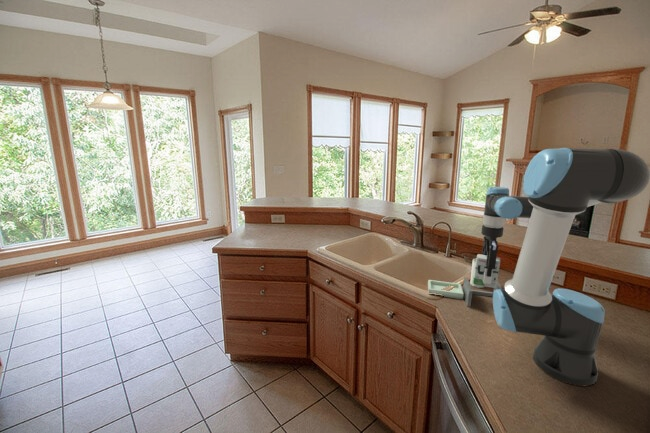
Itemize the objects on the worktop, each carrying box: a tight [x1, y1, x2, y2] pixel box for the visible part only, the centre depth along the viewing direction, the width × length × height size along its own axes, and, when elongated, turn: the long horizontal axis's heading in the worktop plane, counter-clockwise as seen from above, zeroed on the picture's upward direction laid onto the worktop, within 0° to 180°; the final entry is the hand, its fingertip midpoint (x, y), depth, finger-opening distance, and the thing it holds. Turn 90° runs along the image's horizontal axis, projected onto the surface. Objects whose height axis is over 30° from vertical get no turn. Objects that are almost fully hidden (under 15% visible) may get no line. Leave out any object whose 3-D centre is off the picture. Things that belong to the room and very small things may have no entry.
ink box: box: [473, 253, 501, 289], centre depth 125 cm, size 9×5×12 cm, turn 63°
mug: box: [469, 258, 486, 289], centre depth 142 cm, size 10×7×12 cm, turn 119°
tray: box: [427, 279, 464, 300], centre depth 136 cm, size 10×14×2 cm
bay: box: [462, 276, 503, 308], centre depth 127 cm, size 14×13×7 cm
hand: (485, 279), depth 125 cm, fingers closed on ink box, 6 cm apart
